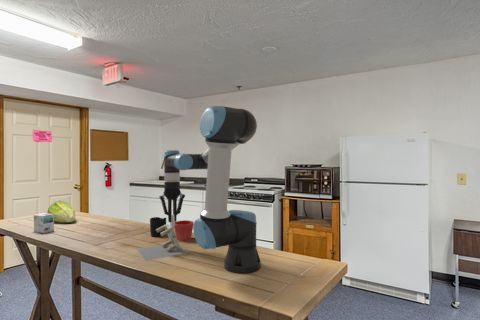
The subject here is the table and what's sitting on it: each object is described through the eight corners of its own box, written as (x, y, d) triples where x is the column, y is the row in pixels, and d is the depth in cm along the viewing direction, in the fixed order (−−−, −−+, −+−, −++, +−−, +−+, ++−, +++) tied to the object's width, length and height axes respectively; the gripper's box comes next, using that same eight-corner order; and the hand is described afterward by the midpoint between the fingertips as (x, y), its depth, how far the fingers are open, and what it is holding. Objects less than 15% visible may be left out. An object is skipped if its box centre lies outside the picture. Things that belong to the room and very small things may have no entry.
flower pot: (189, 242, 158) (189, 224, 158) (170, 241, 161) (170, 224, 161) (196, 237, 169) (196, 220, 169) (178, 236, 171) (178, 220, 171)
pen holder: (163, 232, 181) (163, 216, 181) (168, 235, 173) (168, 218, 173) (147, 234, 176) (147, 218, 176) (152, 238, 168) (152, 220, 168)
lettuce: (82, 228, 215) (58, 235, 203) (67, 212, 229) (44, 218, 217) (82, 210, 210) (58, 216, 198) (67, 196, 224) (44, 201, 212)
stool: (179, 246, 144) (172, 227, 142) (168, 252, 141) (160, 233, 140) (173, 241, 153) (166, 223, 151) (162, 246, 150) (155, 229, 148)
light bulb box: (54, 231, 186) (54, 214, 186) (43, 233, 180) (43, 215, 180) (44, 229, 191) (44, 212, 191) (33, 231, 185) (33, 214, 185)
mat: (188, 253, 140) (188, 253, 140) (145, 261, 130) (145, 260, 130) (176, 243, 157) (176, 242, 157) (136, 249, 148) (136, 248, 148)
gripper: (182, 180, 154) (182, 225, 154) (157, 181, 147) (157, 228, 147) (187, 181, 147) (187, 228, 147) (160, 182, 141) (161, 231, 141)
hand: (172, 228), depth 147 cm, fingers closed
